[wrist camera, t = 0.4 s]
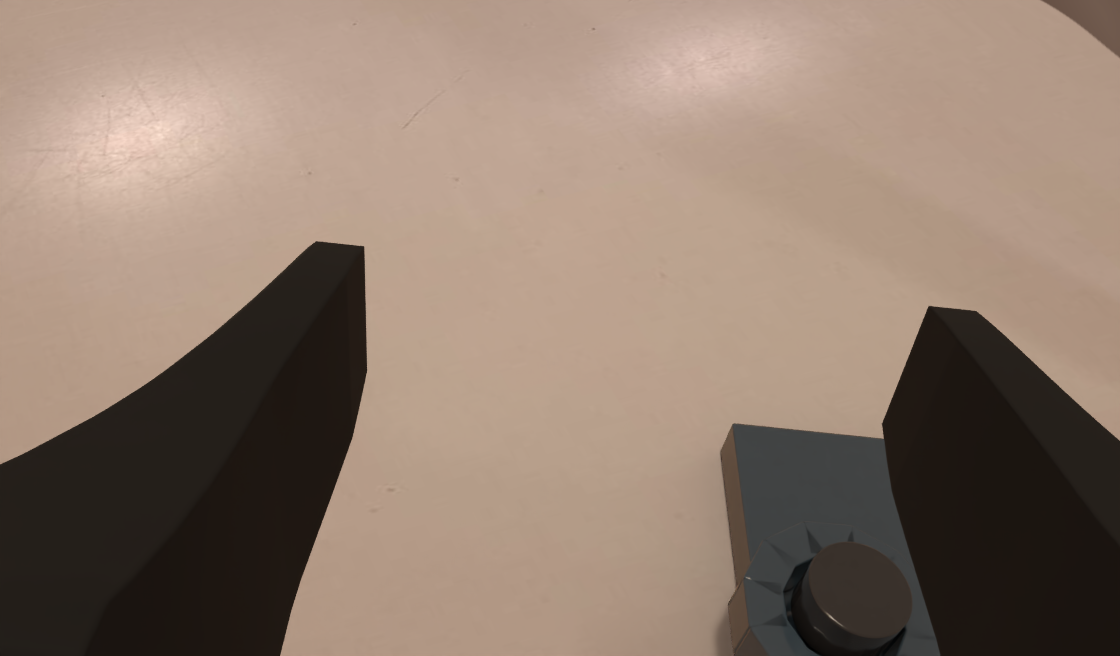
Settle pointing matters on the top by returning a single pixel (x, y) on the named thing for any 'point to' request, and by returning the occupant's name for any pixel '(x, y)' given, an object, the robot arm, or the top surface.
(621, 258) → the top surface
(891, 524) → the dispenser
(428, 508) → the top surface
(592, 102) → the top surface
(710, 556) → the top surface
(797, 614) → the dark brown short cylinder
